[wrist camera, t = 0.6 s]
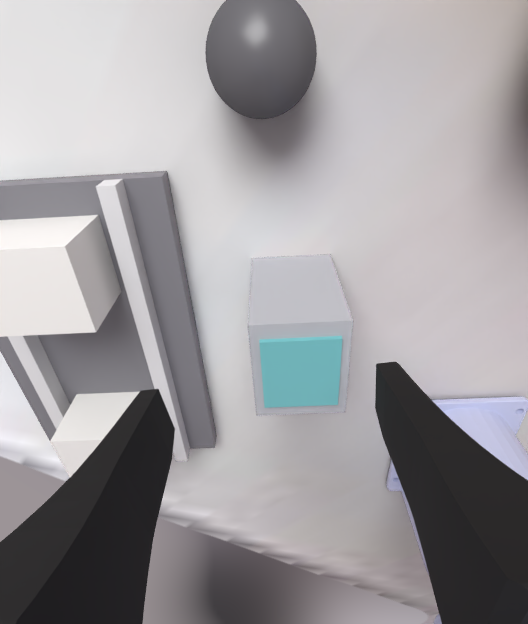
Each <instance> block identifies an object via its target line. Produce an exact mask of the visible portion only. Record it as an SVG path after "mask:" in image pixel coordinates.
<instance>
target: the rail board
mask: <svg viewBox="0 0 528 624" xmlns="http://www.w3.org/2000/svg"><path fill="white" fill-rule="evenodd" d="M0 351H1V353H2V355H3V357H4V358H5V360H6V362H7V364H8V366H9V367H10V369H11V371H12V373H13V375H14V377H15V378H16V380H17V382H18V384H19V386H20V387H21V389H22V391H23V393H24V395H25V397H26V398H27V400H28V402H29V404H30V406H31V407H32V409H33V411H34V413H35V415H36V416H37V418H38V420H39V422H40V424H41V426H42V427H43V429H44V431H45V433H46V435H47V436H48V438H49V440H50V443H51V444H52V446H53V448H54V450H55V452H56V453H57V455H58V457H59V459H60V461H61V463H62V464H63V466H64V468H65V470H66V472H67V473H68V475H69V477H71V476H72V475H73V474H74V473H75V472H76V471H77V469H78V468H79V467H80V466H81V465H82V464H83V462H84V461H85V460H86V459H87V458H88V457H89V455H90V454H91V453H92V452H93V451H94V450H95V448H96V447H97V446H98V445H99V444H100V442H101V441H102V440H103V439H104V437H105V436H106V435H107V434H108V432H109V431H110V430H111V428H112V427H113V426H114V425H115V423H116V422H117V421H118V419H119V418H120V417H121V416H122V414H123V413H124V412H125V410H126V409H127V408H128V406H129V405H130V404H131V402H132V401H133V400H134V399H135V397H136V396H137V395H138V393H139V392H140V391H141V390H150V389H159V391H160V394H161V396H162V399H163V401H164V404H165V406H166V408H167V411H168V413H169V416H170V418H171V420H172V423H173V425H174V428H175V434H174V444H173V454H174V457H175V461H176V462H180V461H188V457H189V452H190V448H215V443H216V431H215V425H214V420H213V415H212V409H211V404H210V399H209V393H208V388H207V383H206V377H205V372H204V367H203V361H202V356H201V351H200V345H199V340H198V335H197V329H196V324H195V319H194V313H193V308H192V303H191V297H190V292H189V287H188V281H187V276H186V271H185V265H184V260H183V255H182V249H181V244H180V239H179V233H178V228H177V223H176V217H175V212H174V207H173V201H172V196H171V191H170V185H169V180H168V175H167V171H159V172H142V173H125V174H108V175H91V176H74V177H57V178H40V179H23V180H6V181H0Z"/></svg>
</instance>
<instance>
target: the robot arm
mask: <svg viewBox="0 0 528 624" xmlns="http://www.w3.org/2000/svg"><path fill="white" fill-rule="evenodd" d="M375 408H376V412H377V416H378V420H379V424H380V428H381V432H382V435H383V439H384V441H385V444H386V447H387V449H388V452H389V454H390V457H391V463H390V468H389V473H388V478H387V488H388V490H390V491H401V492H402V495H403V498H404V502H405V505H406V508H407V511H408V514H409V517H410V521H411V524H412V527H413V530H414V533H415V536H416V540H417V543H418V546H419V549H420V552H421V555H422V559H423V562H424V565H425V568H426V570H427V572H428V574H429V576H430V580H431V583H432V587H433V591H434V595H435V599H436V603H437V606H438V610H439V614H438V615H437V616H436V618H435V620H434V624H528V453H527V452H526V450H525V449H524V447H523V446H522V444H521V443H520V441H519V440H518V438H517V437H516V434H517V432H518V429H519V427H520V425H521V423H522V421H523V418H524V416H525V414H526V412H527V410H528V400H527V398H525V397H497V398H471V399H445V400H431V399H430V398H429V397H428V396H427V395H426V394H425V393H424V392H423V391H422V390H421V389H420V387H419V386H418V385H417V384H416V383H415V382H414V381H413V380H412V379H411V378H410V376H409V375H408V374H407V373H406V372H405V371H404V369H403V368H402V367H401V366H400V365H399V364H398V363H397V362H388V363H379V364H376V403H375ZM174 434H175V428H174V425H173V423H172V420H171V418H170V416H169V413H168V411H167V408H166V406H165V404H164V401H163V399H162V396H161V394H160V391H159V389H150V390H141V391H140V392H139V393H138V395H137V396H136V397H135V399H134V400H133V401H132V402H131V404H130V405H129V406H128V408H127V409H126V410H125V412H124V413H123V414H122V416H121V417H120V418H119V419H118V421H117V422H116V423H115V425H114V426H113V427H112V428H111V430H110V431H109V432H108V434H107V435H106V436H105V437H104V439H103V440H102V441H101V442H100V444H99V445H98V446H97V447H96V448H95V450H94V451H93V452H92V453H91V454H90V455H89V457H88V458H87V459H86V460H85V461H84V462H83V464H82V465H81V466H80V467H79V468H78V469H77V471H76V472H75V473H74V474H73V475H72V476H71V477H70V478H69V479H68V480H67V481H66V482H65V483H64V484H63V485H62V486H61V487H60V488H59V489H58V490H57V491H56V492H55V494H53V495H52V496H51V498H49V499H48V500H47V501H46V502H45V503H44V504H43V505H42V506H41V507H40V508H39V509H38V510H37V511H36V512H35V513H33V514H32V515H31V516H30V517H29V518H28V519H27V520H26V521H24V522H23V523H22V524H21V525H20V526H19V527H18V528H17V529H15V530H14V531H13V532H12V533H11V534H10V535H8V536H7V537H6V538H5V539H4V540H2V541H1V542H0V624H142V621H143V610H144V601H145V593H146V586H147V577H148V569H149V563H150V556H151V549H152V542H153V537H154V532H155V527H156V522H157V518H158V514H159V510H160V506H161V502H162V498H163V493H164V489H165V485H166V481H167V477H168V473H169V468H170V464H171V460H172V452H173V444H174Z"/></svg>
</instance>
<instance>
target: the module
mask: <svg viewBox="0 0 528 624" xmlns="http://www.w3.org/2000/svg"><path fill="white" fill-rule="evenodd" d="M352 329H353V318H352V315H351V313H350V310H349V307H348V304H347V301H346V298H345V295H344V292H343V289H342V286H341V283H340V280H339V277H338V274H337V271H336V268H335V266H334V263H333V260H332V257H331V254H320V255H301V256H281V257H262V258H252V266H251V282H250V298H249V314H248V333H249V343H250V353H251V364H252V374H253V384H254V394H255V405H256V415H257V416H260V415H286V414H312V413H338V412H346V400H347V388H348V376H349V364H350V353H351V341H352Z"/></svg>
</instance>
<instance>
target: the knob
mask: <svg viewBox="0 0 528 624" xmlns="http://www.w3.org/2000/svg"><path fill="white" fill-rule="evenodd" d="M316 54H317V53H316V41H315V35H314V31H313V28H312V25H311V23H310V20H309V18H308V16H307V15H306V13H305V11H304V10H303V8H302V7H301V6H300V5H299V4H298V2H297V1H296V0H226V1H225V2H224V3H223V4H222V6H221V7H220V8H219V10H218V11H217V13H216V14H215V16H214V18H213V20H212V23H211V25H210V28H209V31H208V35H207V41H206V63H207V69H208V73H209V76H210V79H211V82H212V84H213V86H214V88H215V90H216V92H217V93H218V95H219V96H220V97H221V99H222V100H223V101H224V102H225V103H226V104H227V105H228V106H229V107H230V108H232V109H233V110H234V111H236V112H238V113H240V114H242V115H244V116H247V117H250V118H256V119H267V118H272V117H276V116H279V115H281V114H283V113H285V112H287V111H288V110H290V109H291V108H292V107H293V106H295V105H296V104H297V103H298V102H299V100H300V99H301V98H302V97H303V95H304V94H305V92H306V91H307V89H308V87H309V85H310V82H311V80H312V77H313V74H314V70H315V65H316Z"/></svg>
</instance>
